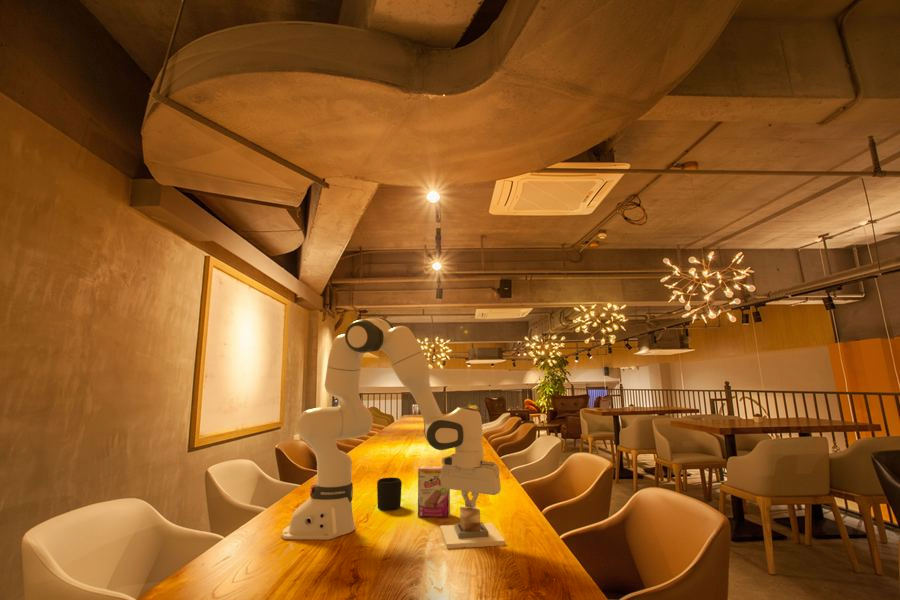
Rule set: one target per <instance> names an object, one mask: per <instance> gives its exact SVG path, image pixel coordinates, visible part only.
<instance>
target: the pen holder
mask: <svg viewBox="0 0 900 600" xmlns="http://www.w3.org/2000/svg"><path fill="white" fill-rule="evenodd" d="M402 485H403V483H402V480H401V478H399V477H383V478H379V479H378V480H377V483H376V493H377V495H376V496H377V499H376V500H377V508H378V509H379V510H381V511H395V510H398V509H400V508H401V505H402V504H401V503H402Z"/></svg>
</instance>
